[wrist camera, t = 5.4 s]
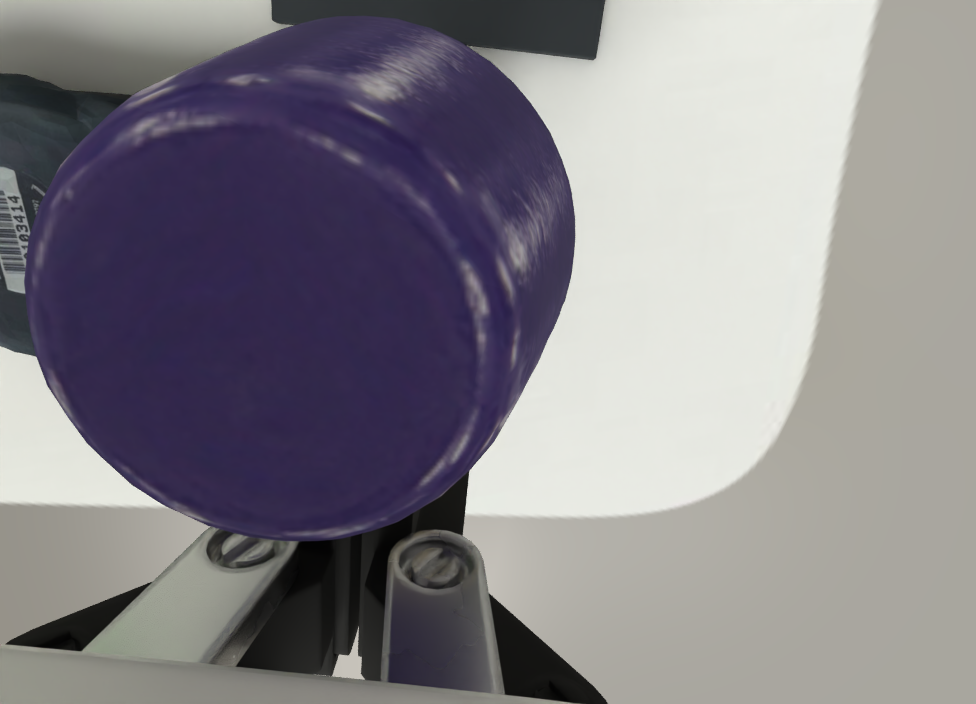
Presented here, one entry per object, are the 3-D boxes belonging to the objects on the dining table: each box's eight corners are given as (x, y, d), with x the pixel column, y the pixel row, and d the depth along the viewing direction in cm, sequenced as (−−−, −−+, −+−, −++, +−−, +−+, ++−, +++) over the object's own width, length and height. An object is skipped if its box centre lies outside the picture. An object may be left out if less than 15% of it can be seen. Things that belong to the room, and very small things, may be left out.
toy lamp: (544, 125, 18) (811, -4, 2) (507, 262, 20) (526, 713, 4) (400, 85, 18) (-348, -357, 2) (374, 228, 19) (-159, 574, 4)
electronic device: (362, 79, 19) (-125, 68, 17) (344, 87, 14) (-337, 74, 12) (380, 324, 23) (-7, 335, 22) (372, 395, 19) (-128, 416, 17)
